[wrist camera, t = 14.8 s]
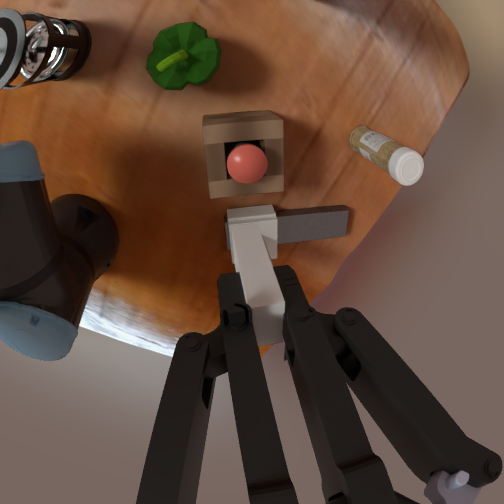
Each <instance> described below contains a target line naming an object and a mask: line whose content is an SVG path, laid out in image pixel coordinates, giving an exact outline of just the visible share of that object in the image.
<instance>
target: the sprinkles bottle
mask: <svg viewBox="0 0 504 504" xmlns="http://www.w3.org/2000/svg"><path fill="white" fill-rule="evenodd" d="M349 142H350V145H351V148H352V149H353V150H354V151H355V152H357V153H360V154H361V155H363V156H364V157H365V158H367V159H368V160H370V161H371V162H373V163H374V164H376V165H377V166H379V167H380V168H382V169H384V170H385V171H386V172H388V173H389V174H390V175H391V176H392V178H393V179H395V180H396V181H397V182H399V183H400V184H402V185H406V186H408V185H412V184H414V183H416V182H417V181H418V180H419V179H420V177H421V175H422V173H423V169H424V163H423V159H422V157H421V155H420V154H419V153H417V152H416V151H414V150H412V149H411V148H408V147H404V146H402V145H401V144H399V143H397V142H396V141H394V140H392V139H390V138H388V137H386V136H384V135H382V134H380V133H378V132H375V131H373V130H371V129H370V128H368V127H365V126H360V127H357V128H356V129H354V130H353V131H352V133H351V135H350V138H349Z"/></svg>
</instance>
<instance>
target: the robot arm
mask: <svg viewBox="0 0 504 504" xmlns="http://www.w3.org/2000/svg"><path fill="white" fill-rule="evenodd" d="M44 178H45V175H44V173H42V170H41V167H40V163H39V159H38V155H37V151H36V148H35V147H34V145H33V144H32V143H30V142H28V141H24V140H20V141H14V142H9V143H5V144H1V145H0V339H1V340H2V341H3V342H4V343H5V344H7V345H8V346H10V347H11V348H13V349H14V350H16V351H18V352H20V353H22V354H24V355H26V356H29V357H31V358H35V359H39V360H45V361H54V360H59V359H62V358H63V357H65V356H66V355H67V354H68V353H69V352H70V350H71V347H72V345H73V342H74V340H75V338H76V337H77V335H78V331H77V330H78V327H79V324H80V321H81V318H82V315H83V312H84V309H85V306H86V303H87V300H88V297H89V294H90V292H91V289H92V286H93V283H94V282H95V281H96V280H97V279H98V278H99V277H100V276H101V275H102V274H103V273H104V272H105V271H106V270H107V269H108V268H109V267H110V266H111V264H112V262H113V260H114V258H115V255H116V253H117V250H118V245H119V235H118V231H117V227H116V225H115V222H114V220H113V219H112V217H111V216H110V214H109V213H108V212H107V211H106V209H105V208H103V207H102V206H101V205H100V204H99V203H97V202H96V201H94V200H92V199H90V198H88V197H86V196H82V195H77V194H67V195H63V196H60V197H58V198H56V199H54V200H53V201H52V202H51V203H50V201H49V197H48V193H47V189H46V185H45V181H44ZM231 229H232V240H233V252H234V263H235V268H236V273H228V274H220V276H219V278H218V280H217V287H218V296H219V304H220V319H221V322H220V325H219V326H218V327H217V328H216V329H215V330H214V331H212V332H210V333H208V334H206V335H202V334H201V333H197V332H191V333H187V334H184V335H183V336H182V337H180V338H179V340H178V342H177V344H176V348H175V351H174V354H173V358H172V362H171V365H170V368H169V372H168V375H167V379H166V383H165V386H164V390H163V394H162V397H161V401H160V405H159V409H158V412H157V416H156V420H155V424H154V428H153V432H152V436H151V440H150V444H149V448H148V453H147V456H146V461H145V465H144V469H143V474H142V478H141V483H140V487H139V492H138V496H137V502H136V504H196V497H197V491H198V485H199V478H200V472H201V465H202V459H203V453H204V447H205V441H206V435H207V429H208V422H209V416H210V410H211V404H212V399H213V393H214V387H215V381H216V377H217V376H219V375H222V374H224V373H226V372H228V375H229V382H230V389H231V395H232V402H233V407H234V414H235V420H236V427H237V432H238V438H239V444H240V450H241V455H242V461H243V467H244V472H245V477H246V482H247V489H248V495H249V500H250V504H299V503H298V500H297V496H296V492H295V489H294V486H293V483H292V481H291V479H290V476H289V473H288V469H287V465H286V461H285V457H284V453H283V449H282V445H281V441H280V437H279V432H278V429H277V424H276V420H275V416H274V412H273V408H272V404H271V399H270V395H269V391H268V387H267V382H266V378H265V374H264V370H263V366H262V361H261V357H260V352H259V348H258V346H263V345H270V344H275V343H281V342H283V338H284V341H285V352H284V353H285V354H284V360H288V364H289V367H290V370H291V373H292V377H293V381H294V384H295V387H296V391H297V394H298V398H299V401H300V405H301V408H302V412H303V415H304V418H305V422H306V425H307V429H308V432H309V436H310V439H311V443H312V446H313V449H314V453H315V457H316V460H317V464H318V467H319V471H320V474H321V478H322V490H323V494H324V497H325V502H326V504H419V503H417V502H415V501H413V500H411V499H409V498H407V497H405V496H404V495H402V494H400V493H398V492H396V491H394V490H393V487H392V484H391V482H390V479H389V476H388V474H387V470H386V468H385V465H384V463H383V461H382V460H381V458H380V457H379V456H377V455H375V454H374V453H373V451H372V449H371V446H370V443H369V441H368V438H367V436H366V433H365V430H364V427H363V425H362V422H361V420H360V417H359V414H358V412H357V409H356V407H355V404H354V401H353V399H352V396H351V394H350V391H349V389H348V386H347V384H348V385H349V387H350V388H351V389H352V391H353V392H354V394H355V395H356V396H357V398H358V399H359V400H360V402H361V403H362V405H363V406H364V407H365V409H366V410H367V411H368V413H369V414H370V415H371V417H372V418H373V420H374V421H375V422H376V424H377V425H378V426H379V428H380V429H381V430H382V432H383V433H384V434H385V436H386V437H387V439H388V440H389V441H390V442H391V444H392V445H393V447H394V448H395V449H396V451H397V452H398V453H399V455H400V456H401V458H402V459H403V460H404V462H405V463H406V464H407V466H408V467H409V468H410V469H411V470H412V472H413V473H414V474H415V475H416V476H417V477H418V478H419V479H420V480H422V481H423V482H425V483H426V484H427V485H426V488H425V490H424V495H425V497H427V498H428V499H429V500H430V501H431V502H432V504H473V503H474V501H475V499H476V497H477V495H478V494H479V492H480V490H481V488H482V487H483V486H485V485H487V484H489V483H492V482H494V481H495V480H496V479H497V478H498V477H499V475H500V474H501V471H502V460H501V458H500V456H499V455H498V454H496V453H495V452H493V451H491V450H489V449H488V448H486V447H484V446H482V445H480V444H479V443H477V442H475V441H474V440H472V439H470V438H468V437H467V436H466V435H465V434H464V432H463V431H462V430H461V429H460V427H459V426H458V425H457V424H456V422H455V421H454V420H453V419H452V418H451V416H450V415H449V414H448V413H447V411H446V410H445V409H444V408H443V407H442V406H441V404H440V403H439V402H438V401H437V400H436V398H435V397H434V396H433V395H432V393H431V392H430V391H429V390H428V389H427V387H426V386H425V385H424V384H423V383H422V382H421V380H419V378H418V377H417V376H416V375H415V373H414V372H413V371H412V370H411V369H410V368H409V367H408V365H407V364H406V363H405V362H404V361H403V360H402V359H401V357H400V356H399V355H398V354H397V353H396V352H395V350H394V349H393V348H392V347H391V346H390V345H389V344H388V342H387V341H386V340H385V339H384V338H383V337H382V336H381V335H380V334H379V332H378V331H377V330H376V329H375V328H374V327H373V326H372V325H371V324H370V322H369V321H368V320H367V319H366V318H365V317H364V316H363V315H362V314H361V313H360V312H359V311H358V310H356V309H354V308H347V307H346V308H342V309H340V310H339V311H337V313H336V314H335V315H333V314H322V313H319V312H316V311H315V309H314V308H312V307H311V306H310V305H309V304H308V301H307V299H306V297H305V294H304V292H303V290H302V287H301V285H300V283H299V280H298V279H297V276H296V273H295V271H294V270H293V269H292V268H291V267H290V266H288V265H284V266H276V267H272V264H271V261H270V258H269V256H268V253H267V250H266V247H265V244H264V241H263V239H262V236H261V233H260V230H259V227H258V225H257V223H251V224H242V225H234V226H231ZM346 383H347V384H346Z"/></svg>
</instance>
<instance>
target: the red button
mask: <svg viewBox="0 0 504 504" xmlns="http://www.w3.org/2000/svg"><path fill="white" fill-rule="evenodd" d="M228 151H229V155H228V158H227V168H228V172H229V174H230V176H231V177H232V178H233V179H234V180H236V181H238V182H240V183H245V184H248V183H253V182H256V181H258V180H259V179H261V178H262V177H263V175H264V174H265V172H266V170H267V165H268V163H267V158H266V156H265V154H264V152H263V151H262V150H261V149H260V148H259V147H257V146H256V145H253V144H252V143H251V141H250V140H247V141H235V142H229V143H228Z"/></svg>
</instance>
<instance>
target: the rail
mask: <svg viewBox="0 0 504 504" xmlns="http://www.w3.org/2000/svg"><path fill="white" fill-rule="evenodd" d="M275 213H276V217H277V244H283V243H291V242H300V241H309V240H317V239H326V238H334V237H343V236H345V235H346V228H347V221H348V214H349V210H348V209H347V208H346V206H345V205H336V206H324V207H312V208H301V209H290V210H280V211H275ZM224 221H225V231H226V240H227V248H228V250H231V246H230V237H229V227H228V219H227V216H224Z"/></svg>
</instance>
